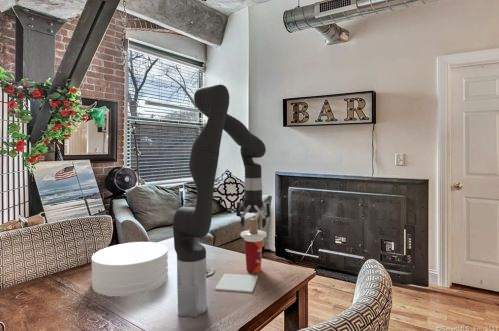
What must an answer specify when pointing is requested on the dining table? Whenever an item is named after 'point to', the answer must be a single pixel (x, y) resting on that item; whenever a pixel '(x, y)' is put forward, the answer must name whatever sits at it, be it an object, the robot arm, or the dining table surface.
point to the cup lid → (253, 231)
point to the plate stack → (129, 268)
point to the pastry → (209, 270)
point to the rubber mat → (237, 283)
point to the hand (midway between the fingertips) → (253, 226)
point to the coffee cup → (253, 254)
